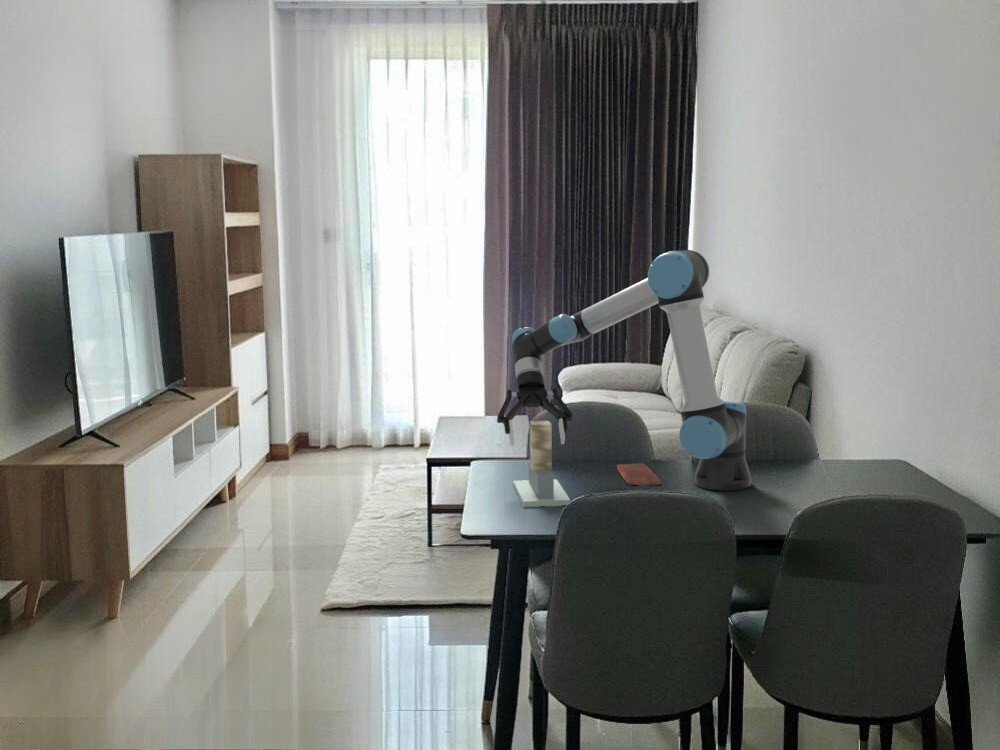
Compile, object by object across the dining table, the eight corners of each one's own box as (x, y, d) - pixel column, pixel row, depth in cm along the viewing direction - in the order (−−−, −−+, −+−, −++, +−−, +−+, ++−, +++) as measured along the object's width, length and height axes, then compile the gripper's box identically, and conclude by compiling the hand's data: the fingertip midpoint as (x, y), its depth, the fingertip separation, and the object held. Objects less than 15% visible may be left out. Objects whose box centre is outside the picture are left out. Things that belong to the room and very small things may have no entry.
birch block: (548, 465, 291) (548, 420, 289) (551, 469, 286) (551, 424, 284) (529, 465, 290) (529, 421, 289) (532, 470, 286) (532, 424, 284)
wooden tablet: (663, 488, 299) (663, 482, 299) (627, 488, 299) (627, 482, 298) (647, 465, 325) (647, 460, 325) (613, 465, 325) (613, 460, 325)
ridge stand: (513, 486, 299) (512, 459, 298) (556, 484, 301) (556, 457, 300) (523, 507, 278) (523, 478, 277) (570, 505, 279) (570, 476, 278)
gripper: (572, 384, 307) (582, 448, 294) (483, 386, 304) (489, 451, 292) (576, 368, 301) (586, 433, 288) (485, 370, 298) (491, 435, 286)
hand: (537, 442), depth 290 cm, fingers open, 13 cm apart
